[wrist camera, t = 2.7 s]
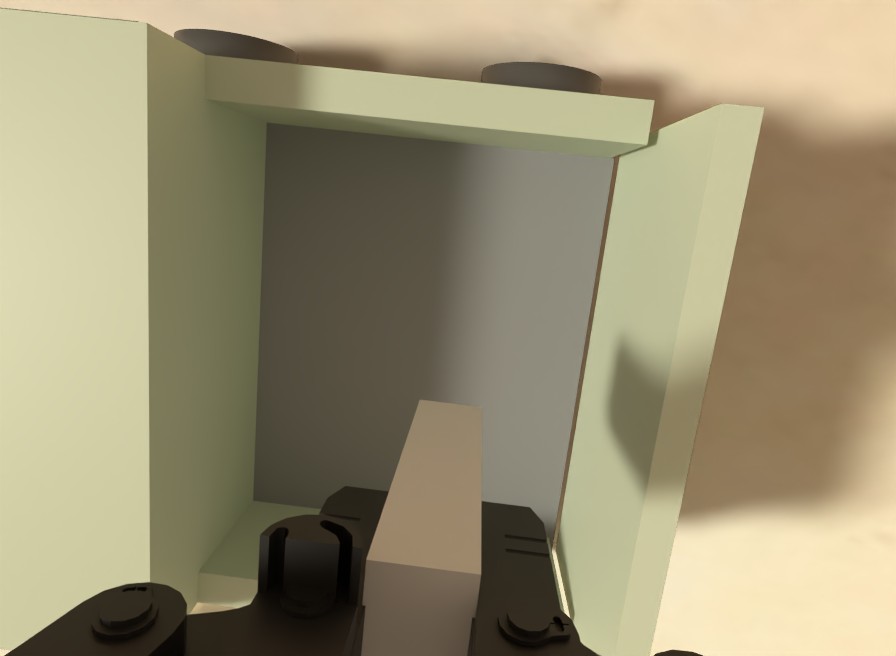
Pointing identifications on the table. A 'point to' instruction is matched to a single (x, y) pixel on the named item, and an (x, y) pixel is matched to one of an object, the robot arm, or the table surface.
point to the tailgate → (650, 369)
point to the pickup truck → (271, 292)
